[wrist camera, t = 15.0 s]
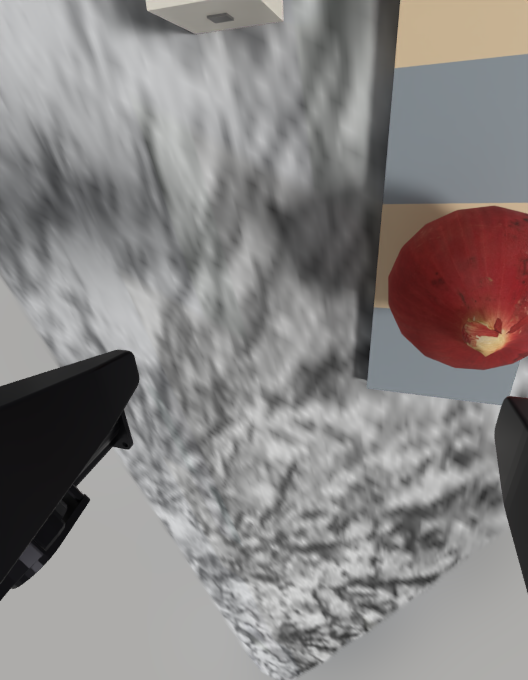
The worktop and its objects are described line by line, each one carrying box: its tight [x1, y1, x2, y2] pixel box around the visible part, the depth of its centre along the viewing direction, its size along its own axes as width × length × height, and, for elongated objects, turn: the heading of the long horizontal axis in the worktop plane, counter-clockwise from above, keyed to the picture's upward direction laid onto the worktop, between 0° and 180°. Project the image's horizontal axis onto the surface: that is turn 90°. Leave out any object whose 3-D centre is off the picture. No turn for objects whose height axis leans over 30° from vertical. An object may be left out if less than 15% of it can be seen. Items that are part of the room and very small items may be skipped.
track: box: [367, 0, 528, 405], centre depth 16 cm, size 20×7×1 cm, turn 3°
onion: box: [388, 206, 528, 370], centre depth 14 cm, size 6×6×8 cm
